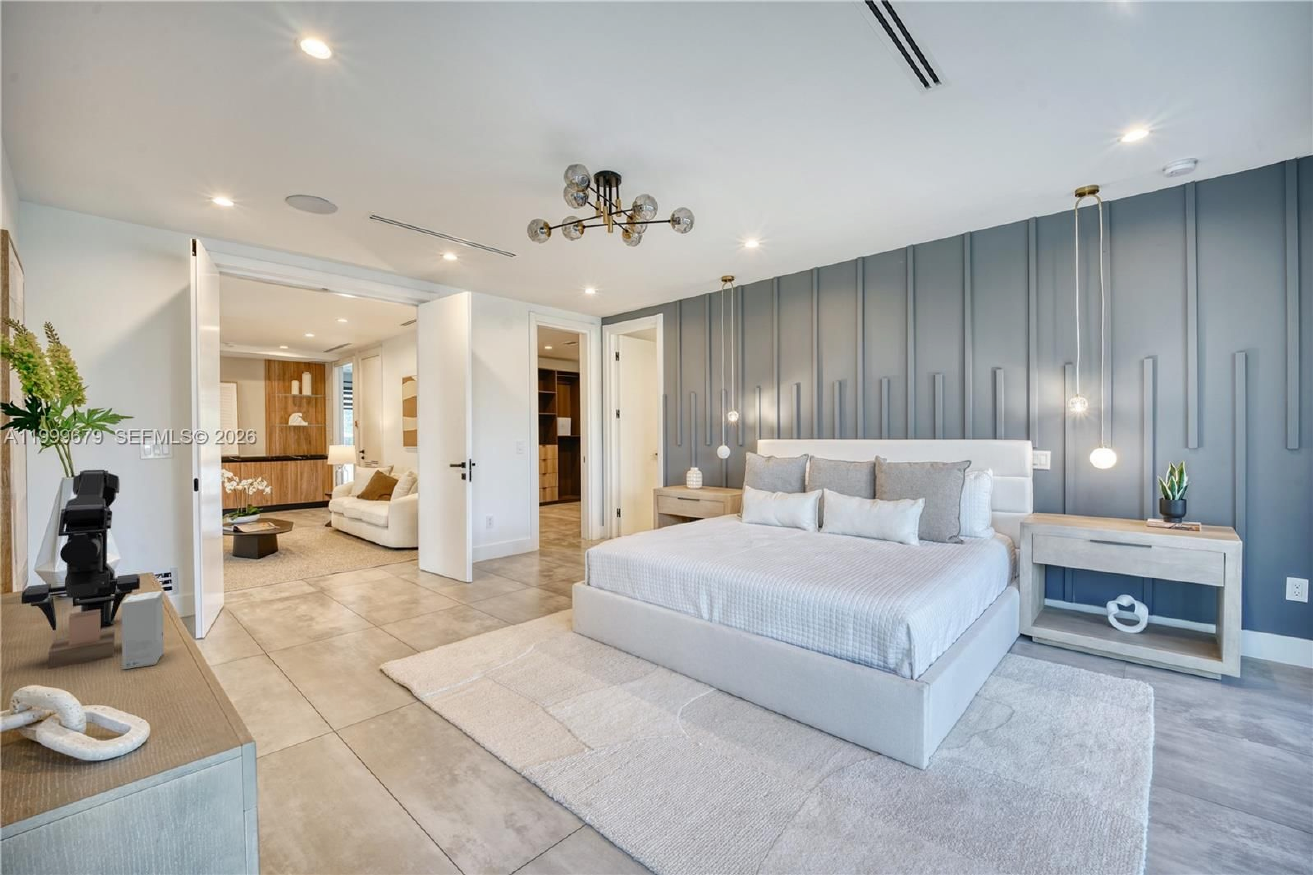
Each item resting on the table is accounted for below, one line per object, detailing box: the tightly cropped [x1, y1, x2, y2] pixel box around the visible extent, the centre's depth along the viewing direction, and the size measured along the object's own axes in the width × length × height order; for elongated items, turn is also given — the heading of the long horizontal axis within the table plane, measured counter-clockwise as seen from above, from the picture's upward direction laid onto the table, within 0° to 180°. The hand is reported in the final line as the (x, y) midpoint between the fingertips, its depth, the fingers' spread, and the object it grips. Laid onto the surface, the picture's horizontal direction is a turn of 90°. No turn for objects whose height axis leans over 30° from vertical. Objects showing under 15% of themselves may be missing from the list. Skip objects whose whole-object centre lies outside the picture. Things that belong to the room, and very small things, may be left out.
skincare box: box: [121, 590, 164, 670], centre depth 125 cm, size 8×6×15 cm
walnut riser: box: [48, 629, 116, 669], centre depth 128 cm, size 10×10×4 cm
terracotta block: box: [68, 609, 101, 646], centre depth 128 cm, size 5×5×6 cm
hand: (83, 625), depth 128 cm, fingers open, 9 cm apart
